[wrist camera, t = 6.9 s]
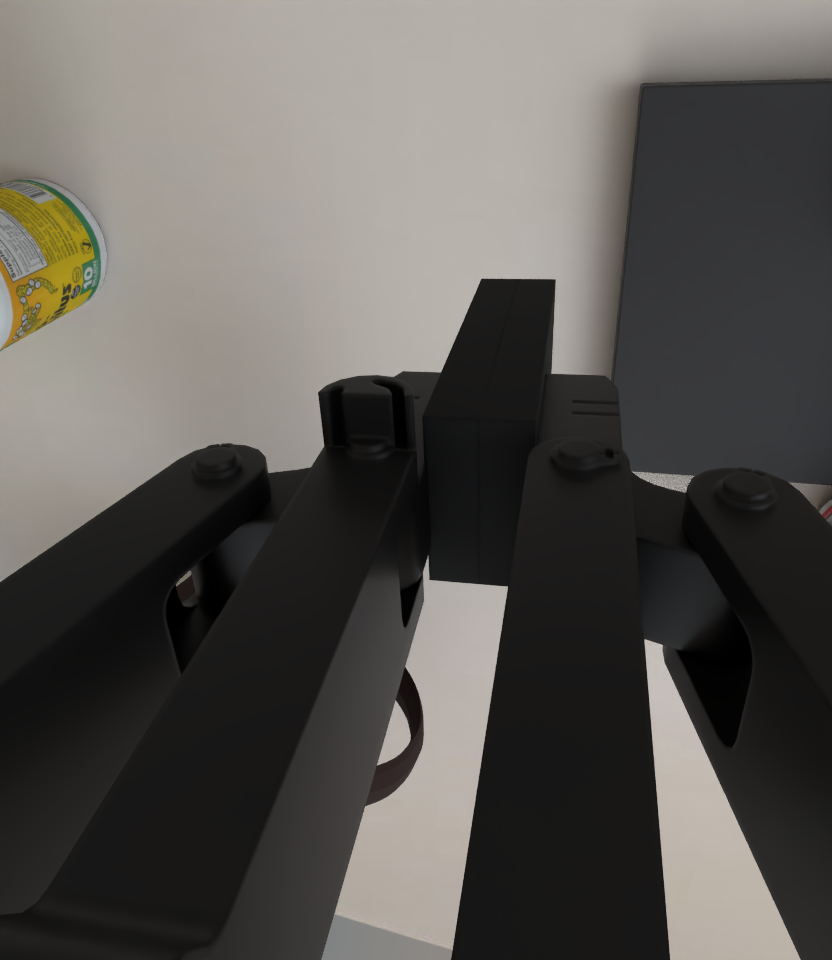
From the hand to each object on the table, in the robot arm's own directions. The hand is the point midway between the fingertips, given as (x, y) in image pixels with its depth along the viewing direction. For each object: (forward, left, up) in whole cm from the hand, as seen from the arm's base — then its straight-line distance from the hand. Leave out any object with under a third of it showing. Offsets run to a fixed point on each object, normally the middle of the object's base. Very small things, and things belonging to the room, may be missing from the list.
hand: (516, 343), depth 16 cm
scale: (+3, +9, -14) cm, 17 cm away
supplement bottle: (+2, -21, -14) cm, 25 cm away
